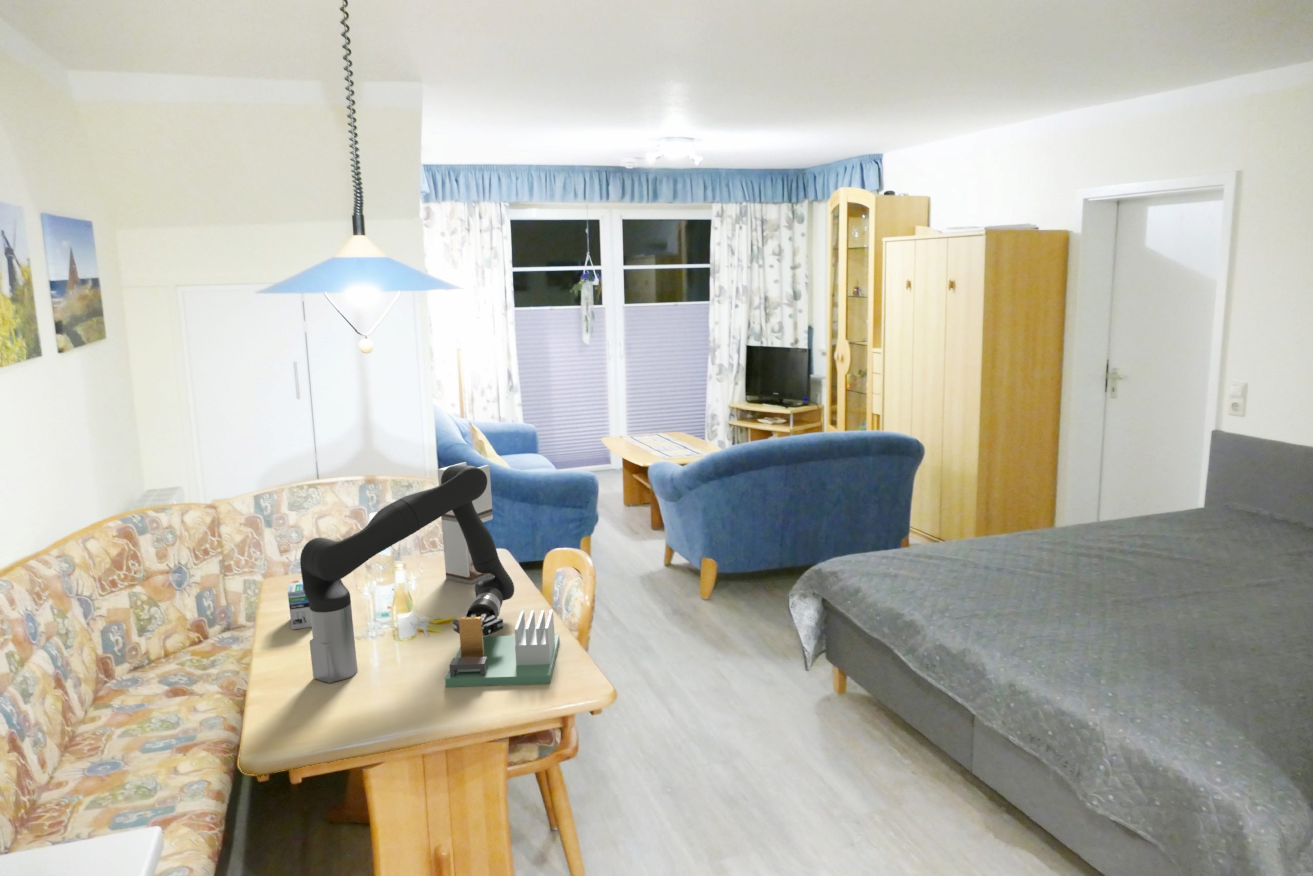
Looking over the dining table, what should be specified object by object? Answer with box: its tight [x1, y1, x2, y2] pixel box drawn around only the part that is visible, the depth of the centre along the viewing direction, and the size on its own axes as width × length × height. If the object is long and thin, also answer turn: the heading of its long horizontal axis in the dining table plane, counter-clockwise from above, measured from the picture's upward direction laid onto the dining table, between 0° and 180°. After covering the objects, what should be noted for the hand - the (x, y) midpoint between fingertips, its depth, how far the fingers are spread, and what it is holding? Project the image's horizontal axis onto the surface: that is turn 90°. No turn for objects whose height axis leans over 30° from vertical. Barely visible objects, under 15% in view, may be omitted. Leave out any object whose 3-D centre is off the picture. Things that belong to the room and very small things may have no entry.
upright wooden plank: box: [458, 616, 484, 672], centre depth 214 cm, size 6×5×11 cm
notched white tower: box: [437, 461, 494, 585], centre depth 283 cm, size 11×11×35 cm
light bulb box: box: [287, 579, 312, 630], centre depth 251 cm, size 11×7×11 cm, turn 19°
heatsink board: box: [444, 609, 561, 688], centre depth 220 cm, size 24×24×11 cm
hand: (471, 638), depth 217 cm, fingers closed
